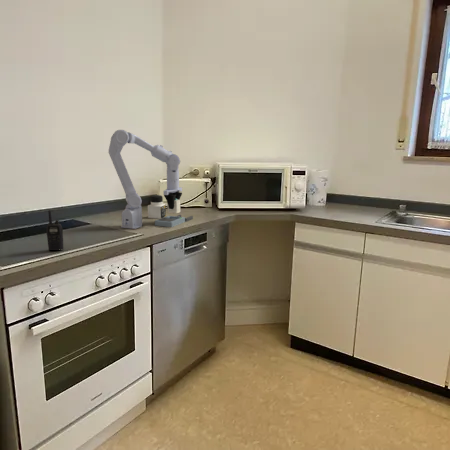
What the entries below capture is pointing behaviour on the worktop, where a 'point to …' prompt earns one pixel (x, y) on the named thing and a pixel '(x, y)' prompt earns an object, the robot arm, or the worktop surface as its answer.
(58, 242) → the two-way radio
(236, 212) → the worktop surface
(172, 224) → the port panel
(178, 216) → the bracket
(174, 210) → the plug
